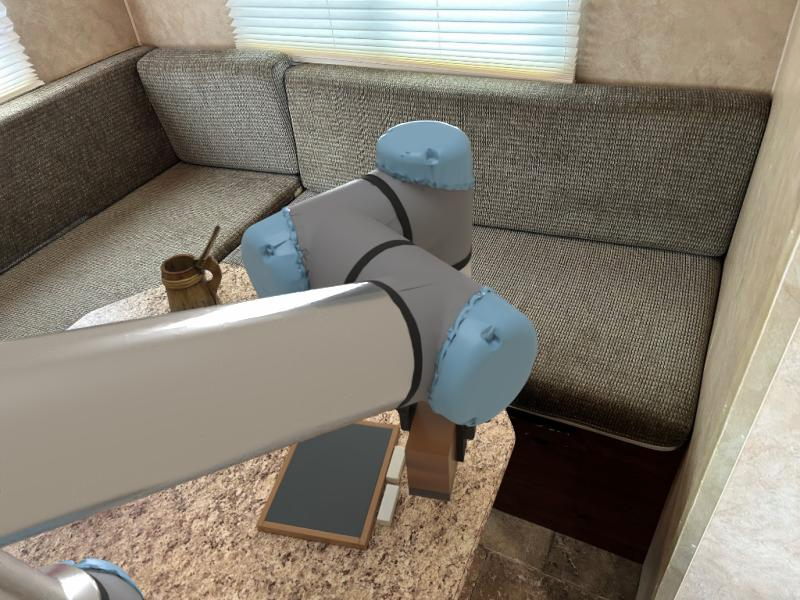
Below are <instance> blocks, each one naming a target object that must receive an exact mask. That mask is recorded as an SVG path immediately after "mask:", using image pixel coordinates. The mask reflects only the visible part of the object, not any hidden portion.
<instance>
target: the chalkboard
mask: <svg viewBox="0 0 800 600" xmlns="http://www.w3.org/2000/svg"><path fill="white" fill-rule="evenodd" d="M400 433H401V428H400V424H394V423H386V422H378V421H371V420H365V419H364V420H361V421H359V422H356V423H353V424H350V425H347V426H345V427H342V428H339V429H336V430H333V431H330V432H328V433H325V434H322V435H319V436H316V437H314V438H311V439H308V440H305V441H302V442H299V443H297V444H294V445H291V446H289V449H288V452H287V454H286V457H285V458H284V461H283V464H282V465H281V467H280V470H279V471H278V474H277V477H276V478H275V481H274V483H273V486H272V488H271V490H270V492H269V494H268V497H267V499H266V501H265V504H264V506H263V508H262V510H261V512H260V515H259V517H258V519H257V521H256V524H255V527H256V530H257V531H260V532H266V533H270V534H276V535H280V536H286V537H292V538H299V539H304V540H308V541H309V540H310V541H313V542H314V541H315V542H319V543H326V544H331V545H336V546H341V547H346V548H352V549H357V550H362V551H367V549H368V545H369V542H370V538H371V534H372V531H373V528H374V525H375V520H376V518H377V515H378V514H377V513H378V511H379V508H380V504H381V501H382V496H383V494H384V493H383V491H384V490H385V486H386V483H387V480H386V475H387V472H388V468H389V465H390V462H391V459H392V455H393V452H394V449H395V446H397V444H398V440H399V436H400Z"/></svg>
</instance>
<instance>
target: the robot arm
mask: <svg viewBox="0 0 800 600" xmlns="http://www.w3.org/2000/svg"><path fill="white" fill-rule="evenodd" d="M375 153H376V155H375V157H374V161H375V166H376V168H375V169H373V170H372V171H369V172H367V173H365V174H362V175H361V176H360V177H359V178H357V179H353V180H351V181H349V182H346V183H343V184H341V185H338V186H336V187H334V188H331V189H328V190H326V191H324V192H322V193H318V194H316V195H314V196H311V197H309V198H307V199H304V200H302V201H298V202H297V203H294V204H292V205H290V206H287V205H286V206H284V207H282V208H281V210H280V211H278V212H276V213H274V214H272V215H270V216H268V217H266V218H264V219H262V220H260V221H258V222H256V223H253V224H252V225H250V226H249V227H248V228H246V230H245V232H243V235H242V237H241V242H240V252H241V253H240V254H241V259H242V262H243V266H244V268H245V272H246V274H247V276H248V279H249V281H250V283H251V286H252V287H253V289H254V291H255V293H256V295H257V296H258V298H253V299H247V300H246V299H245V300H241V301H234V302H228V303H222V305H216V306H210V307H204V308H197V309H191V310H185V311H179V312H173V313H170V312H167V313H162V314H156V315H150V316H149V315H148V316H144V317H143V316H142V317H138V318H137V317H136V318H132V319H126V320H120V321H119V320H118V322H113V321H112V322H113V323H110V322H108V323H107V322H105V323H101V324H95V325H89V326H83V327H76V328H70V329H65V330H60V331H53V332H47V333H40V334H35V335H28V336H22V337H16V338H10V339H9V338H8V339H3V340H0V600H146V599H145V598H144V595H143V592H142V591H141V589H140V587H138V585H137V584H136V583H135V582H134V580H133V579H132V578H131V576H130V575H129V574H128V573H127V572H126V571H125V570H124V569H123V568H121V567H120V566H119V565H117V564H115V563H113V562H111V561H108V560H105V559H102V558H101V559H100V558H95V557H93V558H92V557H84V558H83V559H82V560H81V561H80V562H79V563H75V561H74V560H73V559H68V560H62V561H59V562H56V563H53V564H47V565H44V566H39V567H37V568H36V567H35V566H32V565H30V564H29V563H28V562H26V561H24V560H22V559H20V558H19V557H17V556H15V555H13V554H11V553H10V552H8V551H6V550H5V549H4V548H6V547H8V546H11V545H14V544H17V543H20V542H23V541H26V540H28V539H31V538H34V537H37V536H40V535H42V534H46V533H48V532H50V531H54V530H57V529H60V528H63V527H65V526H68V525H70V524H73V523H77V522H79V521H82V520H84V519H87V518H90V517H94V516H96V515H99V514H102V513H104V512H108V511H110V510H113V509H116V508H119V507H122V506H124V505H128V504H130V503H134V502H135V501H138V500H141V499H145V498H147V497H150V496H153V495H155V494H158V493H162V492H163V491H166V490H169V489H172V488H175V487H178V486H181V485H183V484H187V483H189V482H192V481H195V480H198V479H201V478H203V477H207V476H209V475H212V474H215V473H217V472H220V471H223V470H226V469H228V468H231V467H234V466H237V465H241V464H244V463H245V462H248V461H252V460H254V459H258V458H260V457H263V456H265V455H268V454H271V453H274V452H277V451H280V450H282V449H285V448H288V447H291V445H294V444H297V443H299V442H302V441H305V440H308V439H311V438H314V437H316V436H319V435H322V434H325V433H328V432H330V431H333V430H336V429H339V428H342V427H345V426H347V425H350V424H353V423H356V422H359V421H361V420H364V421H365V420H367V419H370V418H372V417H375V416H378V415H381V414H383V413H387V412H391V411H394V410H395V411H397V414H398V417H399V418H398V419H399V425H400V430H402V431H403V432H408V433H409V432H410V429H411V425H412V422H413V418H414V415H415V411H416V408H417V404H418V401H426V402H428V403H429V404H430V406H431V408H432V410H433V411H434V412H435V413H437V414H441V415H443V416H444V417H445V418H447V419H448V420H450V421H452V422H454V423H456V440H457V462H458V463H464V461H465V457H466V450H467V444H468V441H474V440H475V437H476V432H477V426H480V425H483V424H488V423H490V422H492V419H494V418H496V417H497V416H498V415H500V413H502V412H503V411H504V410H506V409H507V407H508V406H510V404H511V403H513V401H514V400H515V399H516V398H517V396H518V395H519V394H520V392H521V391H522V389H523V388H524V386H525V385H526V383H527V381H528V379H529V377H530V375H531V373H532V369H533V366H534V363H535V361H536V358H537V354H538V347H539V346H538V345H539V344H538V342H539V341H538V333H537V330H536V327H535V325H534V324H533V322H532V320H531V319H530V318H529V317H528V316H527V315H526V314H525V313H523V312H522V311H521V310H519V309H518V308H516V307H515V306H513V305H512V304H511V303H510V302H508V301H507V300H505V298H503V297H502V296H500V295H499V294H497V291H496V290H495V289H494V288H493V287H491V286H487V285H483V284H482V283H480V282H478V281H477V280H475V279H473V224H474V223H473V220H474V219H473V217H474V188H475V184H476V183H475V182H476V180H475V178H474V165H473V152H472V145H471V141H470V139H469V137H468V136H467V134H466V133H465V132H464V131H463V130H461V128H459V127H457V126H454V125H451V124H449V123H447V122H445V121H444V122H443V121H437V120H413V121H408V122H404V123H400V124H397V125H395V126H393V127H390V128H389V129H387V130H386V131H385V133H384V134H382V135H381V136H380V137H379V138H378V140H377V141H376V146H375Z"/></svg>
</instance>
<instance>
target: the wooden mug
mask: <svg viewBox="0 0 800 600" xmlns="http://www.w3.org/2000/svg"><path fill="white" fill-rule="evenodd" d="M221 230H222V227H221V226H220V225H219V224H216V225H215V227H214V229H213V230H212V232H211V235H210V238H209V239H208V241H207V243H206V245H205V247H204V249H203V251H202V253H201V254H200V255H199V256H195V255H193V254H191V253H179V254H175V255H172V256H170V257H168V258H166V259H165V260H164V261H162V262H161V265H160V272H161V274H160V276H161V277H160V278H161V284H162V286H164V289H165V293H166V298H167V302H168V307H169V313H173V312H179V311H185V310H191V309H197V308H204V307H210V306H216V305H222V304H223V303H222V300H221V297H220V296H219V294H218V290H219V288H220V285H221V283H222V279H223V271H222V268H221V265H220V264H219V263H218V261H217V260H216V259H215V258H214V257H213V256H212V255H211V254H210V253H211V250H212V249H213V246H214V244H215V242H216V240H217V238H218V235H219V233H220V231H221ZM206 271H208V272H210V273H211V275H212V277H211V279H209V280H208V278H207V276H206V273H207V272H206Z"/></svg>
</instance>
